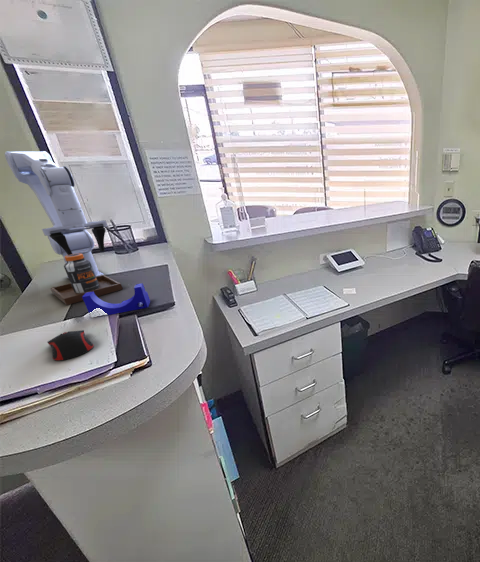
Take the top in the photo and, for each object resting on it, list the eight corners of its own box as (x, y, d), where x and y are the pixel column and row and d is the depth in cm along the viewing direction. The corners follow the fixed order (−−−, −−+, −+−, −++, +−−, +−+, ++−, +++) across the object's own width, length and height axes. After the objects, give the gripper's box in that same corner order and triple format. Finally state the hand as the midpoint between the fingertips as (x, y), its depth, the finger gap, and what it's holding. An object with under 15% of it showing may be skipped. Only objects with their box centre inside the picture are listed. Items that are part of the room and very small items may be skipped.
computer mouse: (85, 333, 71) (79, 318, 69) (96, 349, 64) (89, 333, 63) (47, 345, 66) (39, 329, 65) (55, 364, 60) (46, 347, 58)
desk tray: (53, 294, 94) (50, 287, 94) (106, 280, 104) (104, 274, 104) (66, 305, 86) (63, 298, 85) (122, 289, 96) (120, 283, 95)
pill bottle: (85, 294, 92) (69, 258, 87) (69, 293, 93) (53, 257, 89) (105, 286, 97) (91, 252, 93) (90, 285, 98) (76, 251, 94)
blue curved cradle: (150, 301, 87) (143, 281, 84) (147, 307, 83) (140, 286, 81) (96, 311, 82) (87, 290, 79) (91, 318, 78) (82, 296, 76)
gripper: (38, 213, 84) (59, 261, 89) (103, 206, 95) (119, 249, 100) (33, 213, 88) (53, 259, 93) (96, 206, 99) (112, 247, 104)
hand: (87, 253), depth 97 cm, fingers open, 7 cm apart
